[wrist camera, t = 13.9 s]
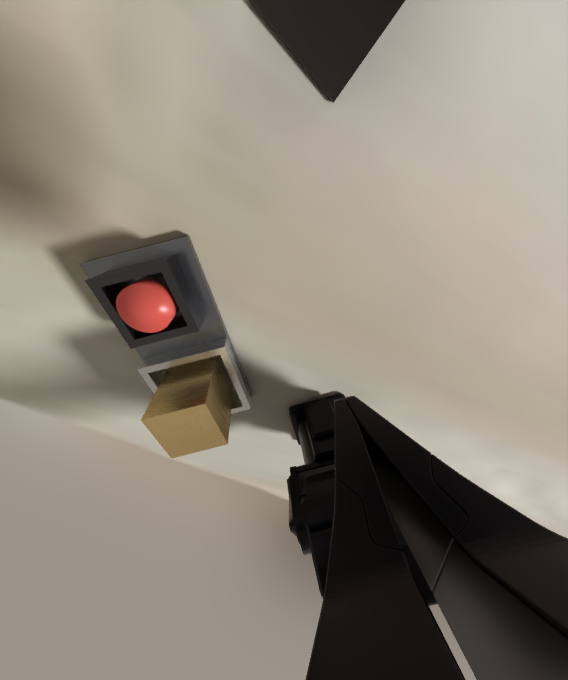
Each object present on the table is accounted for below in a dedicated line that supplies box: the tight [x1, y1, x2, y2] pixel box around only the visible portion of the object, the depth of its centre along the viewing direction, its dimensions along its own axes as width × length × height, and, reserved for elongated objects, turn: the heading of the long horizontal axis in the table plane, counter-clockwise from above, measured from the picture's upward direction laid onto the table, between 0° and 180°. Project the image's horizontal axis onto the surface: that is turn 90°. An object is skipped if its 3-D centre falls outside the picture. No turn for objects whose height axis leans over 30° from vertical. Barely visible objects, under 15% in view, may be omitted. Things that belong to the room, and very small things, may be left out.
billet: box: [141, 356, 233, 458], centre depth 19 cm, size 4×4×6 cm
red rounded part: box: [116, 275, 179, 333], centre depth 16 cm, size 3×3×3 cm
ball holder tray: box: [80, 235, 253, 414], centre depth 19 cm, size 16×8×3 cm, turn 12°
